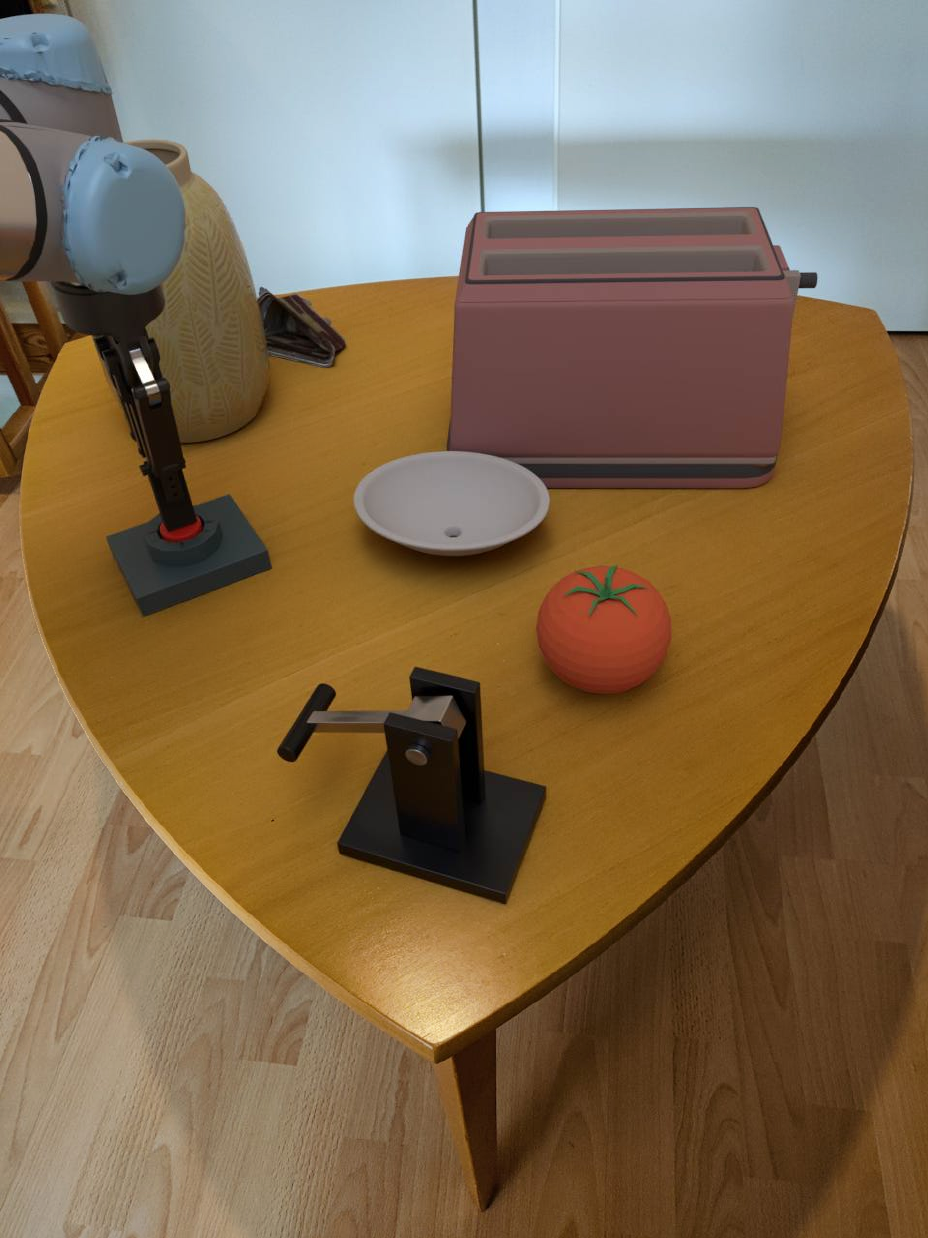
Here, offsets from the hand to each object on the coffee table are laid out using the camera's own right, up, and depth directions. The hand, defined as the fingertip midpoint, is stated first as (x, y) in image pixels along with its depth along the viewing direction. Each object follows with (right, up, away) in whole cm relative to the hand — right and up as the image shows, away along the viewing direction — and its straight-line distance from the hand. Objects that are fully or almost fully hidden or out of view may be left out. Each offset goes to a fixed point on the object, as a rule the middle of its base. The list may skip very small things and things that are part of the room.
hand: (180, 521), depth 88 cm
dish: (+24, -2, +4) cm, 25 cm away
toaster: (+41, +10, +15) cm, 45 cm away
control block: (0, -3, +3) cm, 5 cm away
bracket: (+24, -23, -19) cm, 38 cm away
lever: (+20, -16, -24) cm, 35 cm away
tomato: (+36, -13, -9) cm, 39 cm away
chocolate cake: (+7, +24, +32) cm, 41 cm away
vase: (-4, +14, +22) cm, 27 cm away
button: (0, -2, +1) cm, 2 cm away
